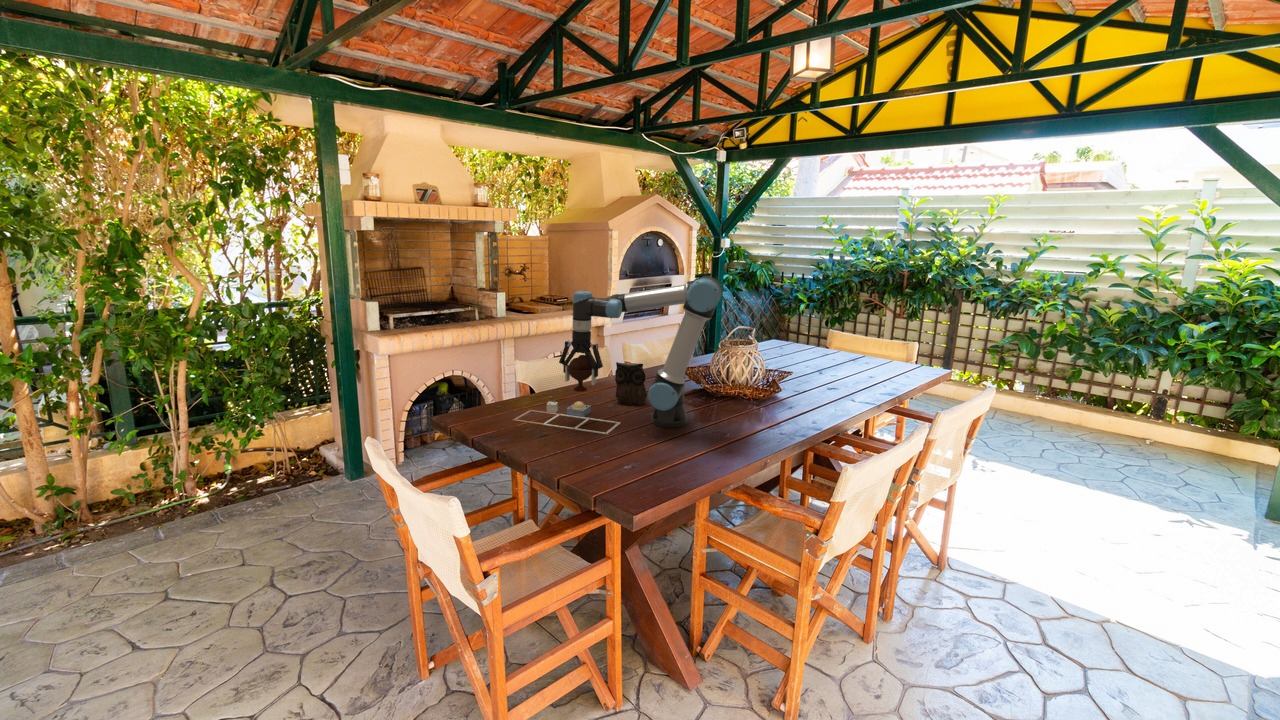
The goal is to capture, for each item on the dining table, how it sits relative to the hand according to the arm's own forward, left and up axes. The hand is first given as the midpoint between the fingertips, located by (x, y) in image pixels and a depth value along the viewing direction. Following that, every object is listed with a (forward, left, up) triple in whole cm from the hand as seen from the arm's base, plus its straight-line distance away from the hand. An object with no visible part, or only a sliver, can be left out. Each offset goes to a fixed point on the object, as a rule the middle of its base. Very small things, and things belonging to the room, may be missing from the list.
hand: (580, 382), depth 239 cm
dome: (-12, -6, -17) cm, 22 cm away
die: (-10, -18, -18) cm, 28 cm away
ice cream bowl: (0, 0, -3) cm, 3 cm away
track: (0, -6, -18) cm, 19 cm away
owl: (-37, +10, -18) cm, 42 cm away
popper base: (-12, -6, -18) cm, 22 cm away
